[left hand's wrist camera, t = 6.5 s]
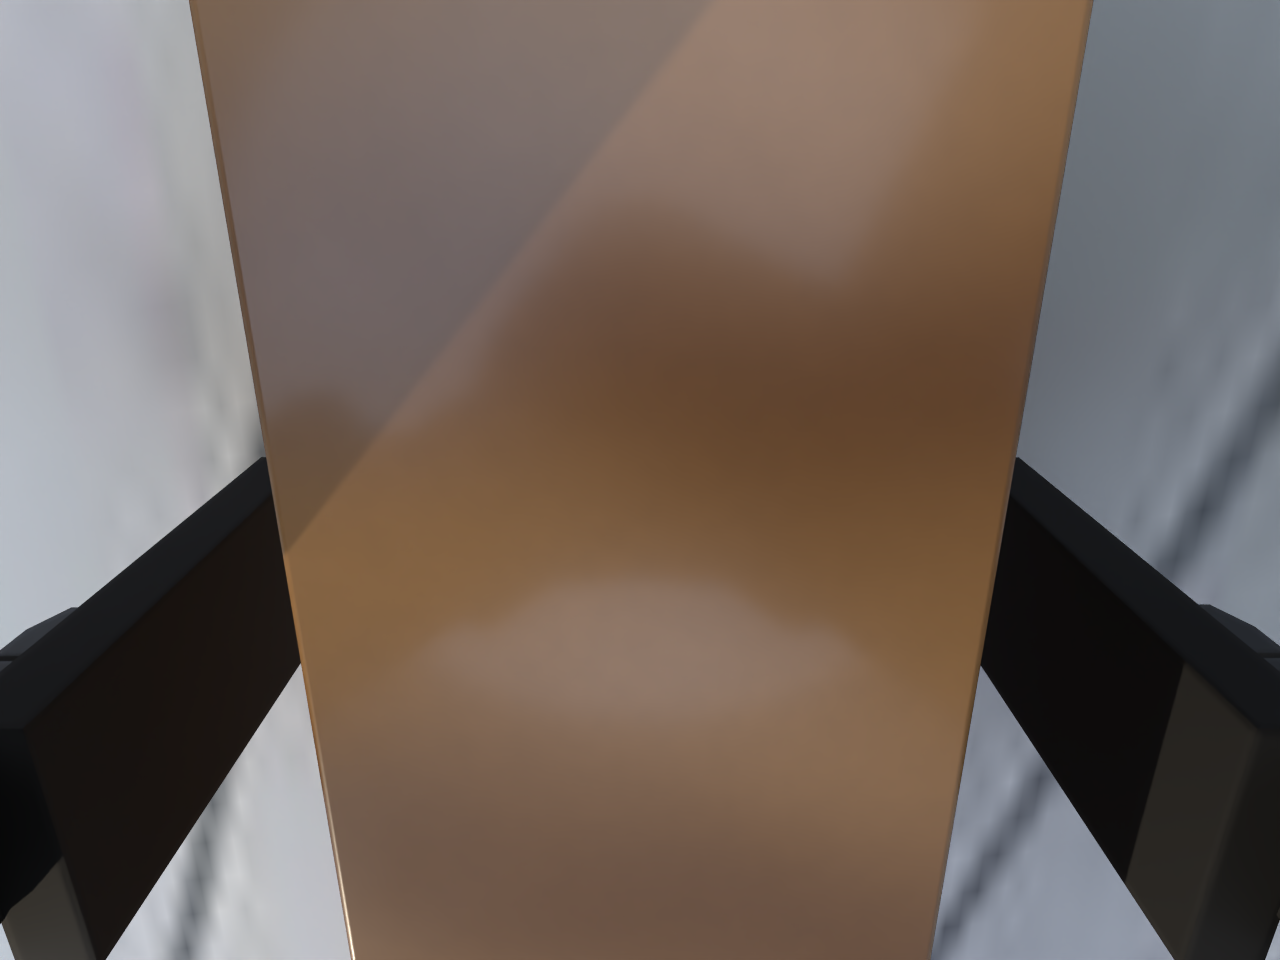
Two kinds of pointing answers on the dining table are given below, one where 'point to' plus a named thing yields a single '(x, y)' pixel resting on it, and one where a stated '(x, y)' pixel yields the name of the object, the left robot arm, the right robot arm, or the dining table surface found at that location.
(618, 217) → the beam
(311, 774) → the dining table surface
